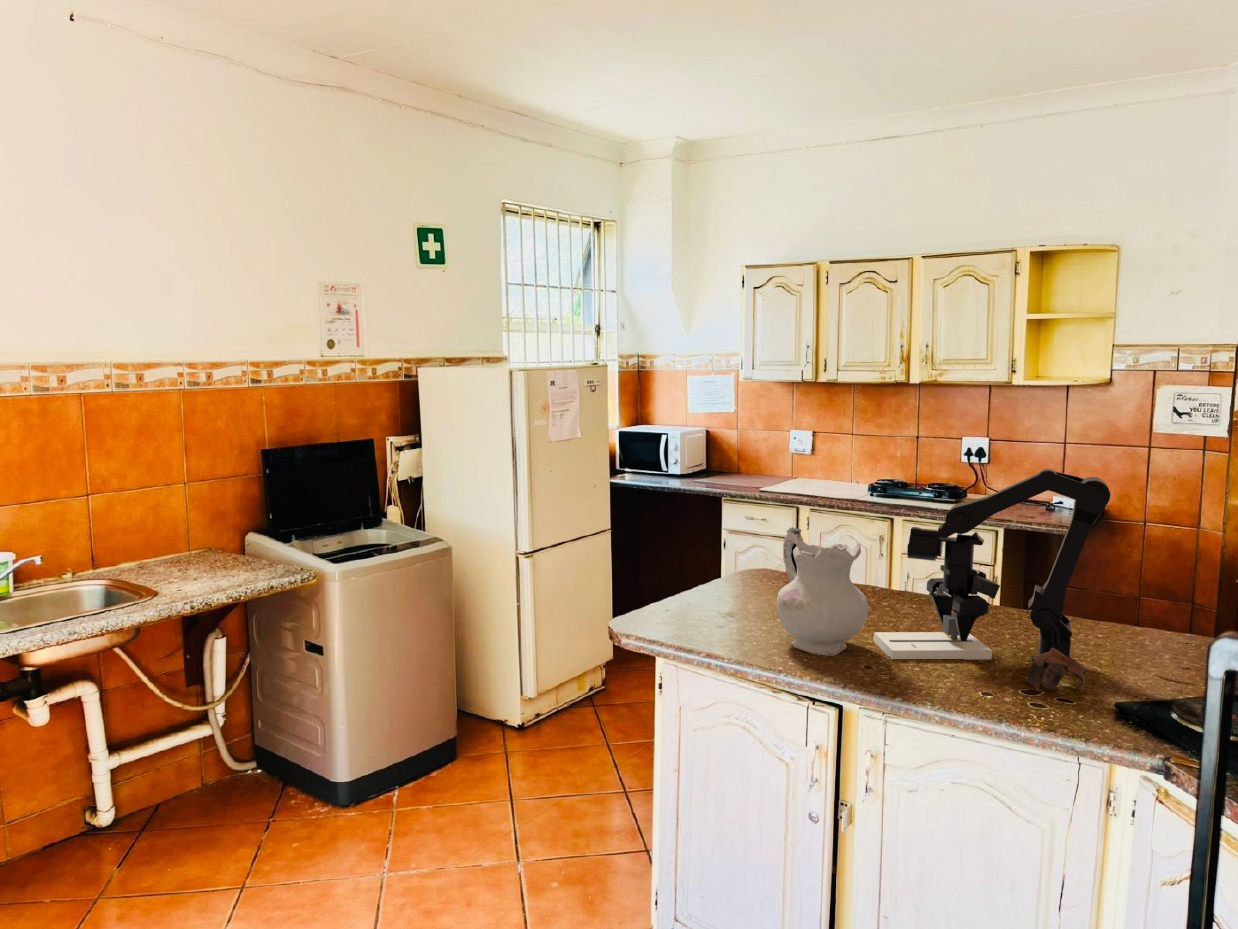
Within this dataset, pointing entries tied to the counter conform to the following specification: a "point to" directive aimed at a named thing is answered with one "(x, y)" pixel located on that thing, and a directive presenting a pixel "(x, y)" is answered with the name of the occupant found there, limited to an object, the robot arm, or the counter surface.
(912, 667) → the counter surface
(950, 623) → the fader knob
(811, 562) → the ceramic pitcher
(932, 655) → the fader panel
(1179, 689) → the counter surface
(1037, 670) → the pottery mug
